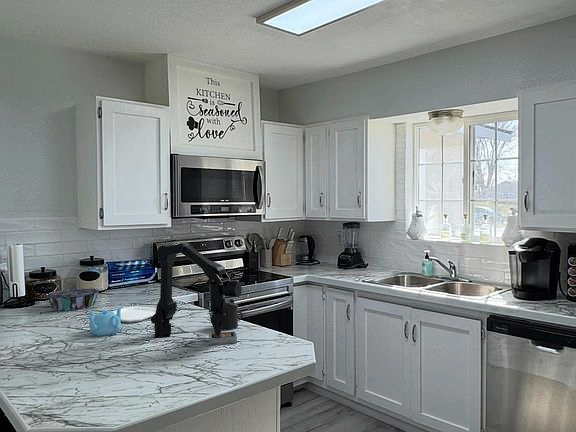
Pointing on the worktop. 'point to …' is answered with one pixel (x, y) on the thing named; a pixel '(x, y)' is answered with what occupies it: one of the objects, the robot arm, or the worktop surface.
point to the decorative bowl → (73, 299)
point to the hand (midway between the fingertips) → (217, 333)
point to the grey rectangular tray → (222, 339)
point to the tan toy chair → (221, 335)
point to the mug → (231, 320)
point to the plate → (135, 313)
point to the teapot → (105, 322)
